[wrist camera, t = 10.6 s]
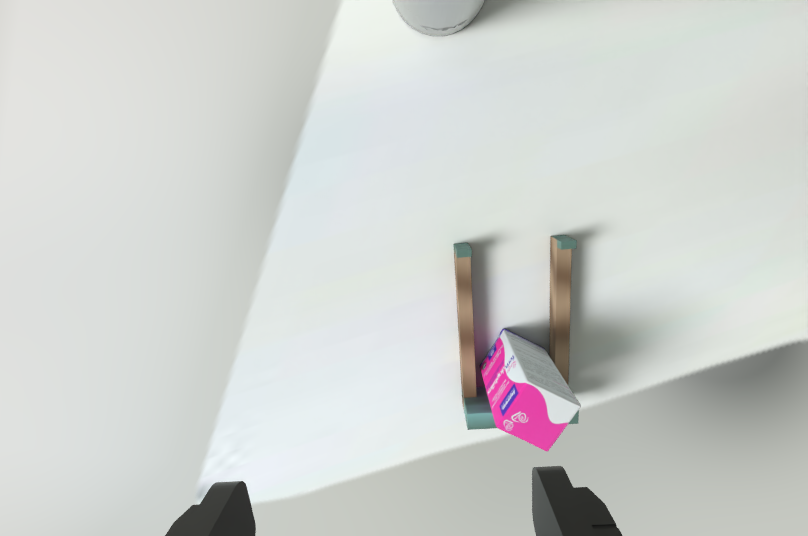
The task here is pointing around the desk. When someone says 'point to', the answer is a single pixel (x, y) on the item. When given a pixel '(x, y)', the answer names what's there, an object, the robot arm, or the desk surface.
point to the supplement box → (527, 391)
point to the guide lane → (473, 396)
